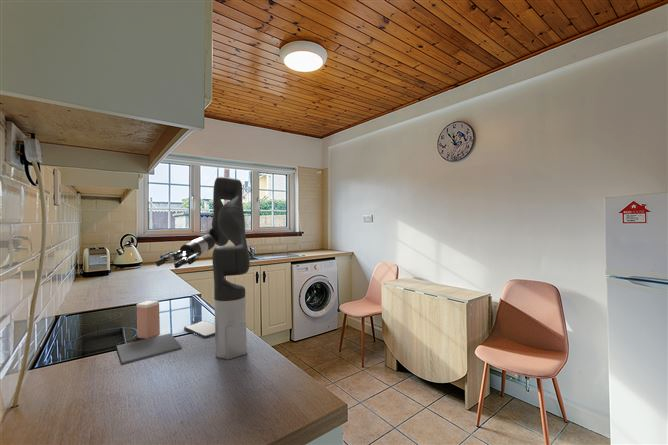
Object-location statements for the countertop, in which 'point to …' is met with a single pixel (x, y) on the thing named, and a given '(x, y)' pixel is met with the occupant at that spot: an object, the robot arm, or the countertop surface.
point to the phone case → (201, 329)
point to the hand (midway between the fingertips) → (165, 265)
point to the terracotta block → (148, 319)
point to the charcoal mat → (147, 348)
